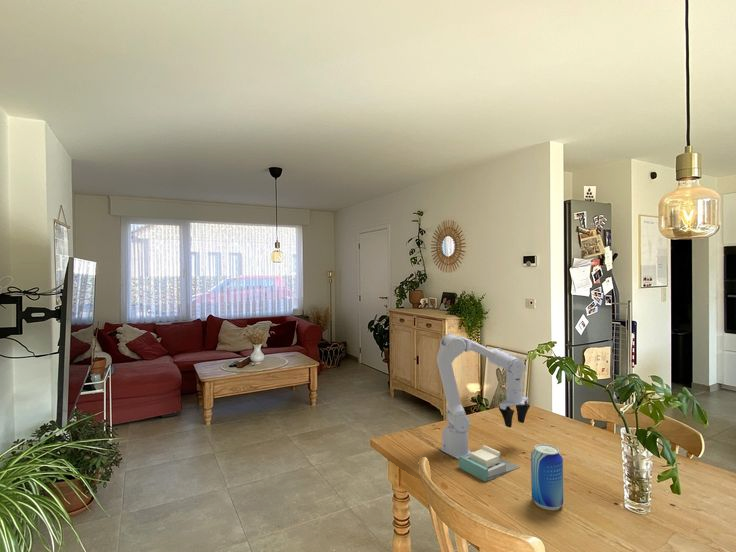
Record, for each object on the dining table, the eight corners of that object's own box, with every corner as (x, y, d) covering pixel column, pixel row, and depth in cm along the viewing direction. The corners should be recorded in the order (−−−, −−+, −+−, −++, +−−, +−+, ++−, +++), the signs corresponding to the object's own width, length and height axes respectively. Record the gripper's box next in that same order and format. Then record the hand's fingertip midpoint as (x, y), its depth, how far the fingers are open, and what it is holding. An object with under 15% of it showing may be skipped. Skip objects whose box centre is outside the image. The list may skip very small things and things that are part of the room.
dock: (458, 469, 138) (458, 455, 138) (492, 455, 148) (492, 443, 148) (486, 484, 128) (486, 469, 128) (520, 468, 138) (520, 455, 138)
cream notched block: (470, 463, 138) (470, 449, 138) (484, 458, 142) (484, 444, 142) (486, 472, 132) (486, 457, 132) (500, 466, 136) (500, 452, 136)
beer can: (545, 514, 111) (544, 456, 111) (525, 498, 119) (524, 444, 119) (570, 509, 113) (569, 452, 113) (549, 493, 121) (548, 441, 121)
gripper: (511, 394, 145) (511, 432, 145) (535, 388, 153) (535, 423, 153) (495, 390, 150) (495, 426, 151) (519, 383, 158) (519, 418, 158)
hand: (514, 424), depth 152 cm, fingers open, 7 cm apart
